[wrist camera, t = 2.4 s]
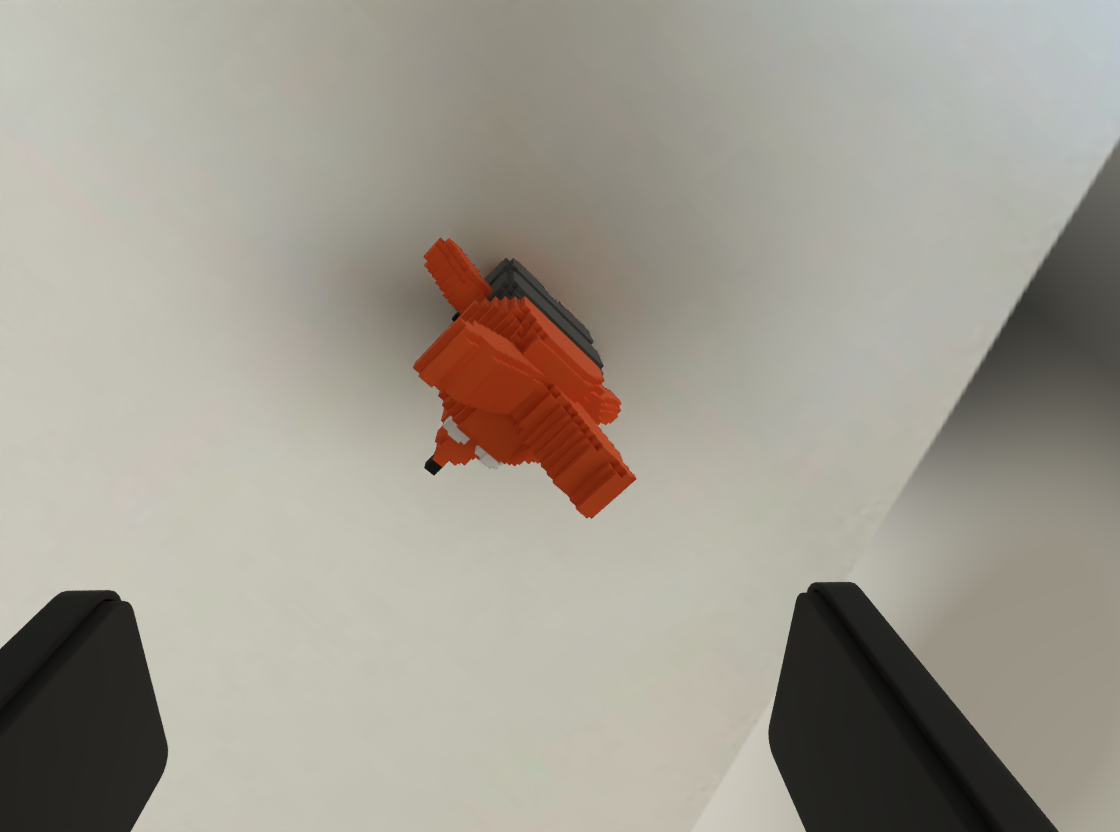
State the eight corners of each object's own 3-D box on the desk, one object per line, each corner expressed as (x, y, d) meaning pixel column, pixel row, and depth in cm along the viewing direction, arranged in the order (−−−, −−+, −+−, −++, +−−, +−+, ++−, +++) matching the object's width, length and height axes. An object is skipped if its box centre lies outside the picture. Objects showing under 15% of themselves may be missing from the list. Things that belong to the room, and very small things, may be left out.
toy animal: (374, 308, 25) (264, 436, 14) (470, 203, 23) (434, 250, 12) (524, 437, 27) (533, 634, 16) (617, 348, 26) (696, 495, 15)
